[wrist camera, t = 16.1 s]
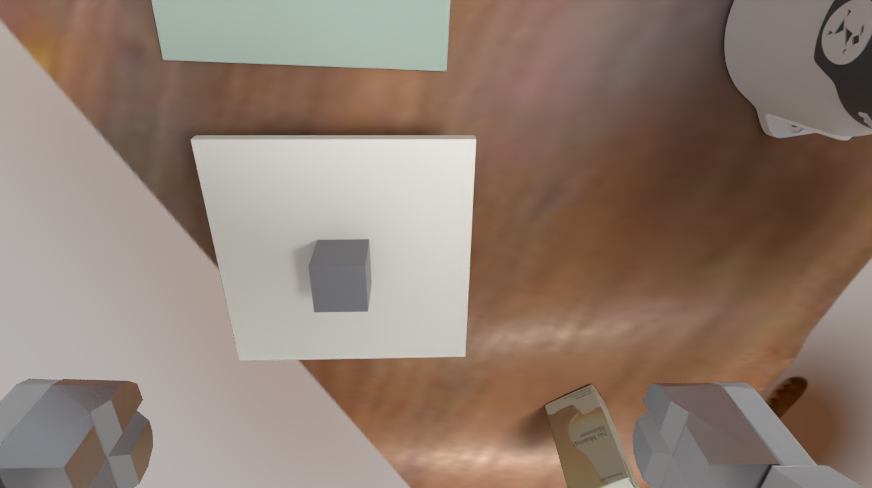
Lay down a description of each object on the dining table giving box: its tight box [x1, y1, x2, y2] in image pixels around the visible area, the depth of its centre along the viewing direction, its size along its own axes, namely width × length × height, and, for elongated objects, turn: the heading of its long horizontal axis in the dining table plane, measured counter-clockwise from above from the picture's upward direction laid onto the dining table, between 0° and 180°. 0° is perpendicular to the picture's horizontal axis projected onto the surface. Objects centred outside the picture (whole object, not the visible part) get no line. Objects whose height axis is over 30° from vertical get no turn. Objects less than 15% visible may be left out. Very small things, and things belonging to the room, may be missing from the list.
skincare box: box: [545, 385, 639, 488], centre depth 55 cm, size 6×4×12 cm
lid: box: [191, 135, 476, 361], centre depth 40 cm, size 20×20×5 cm
